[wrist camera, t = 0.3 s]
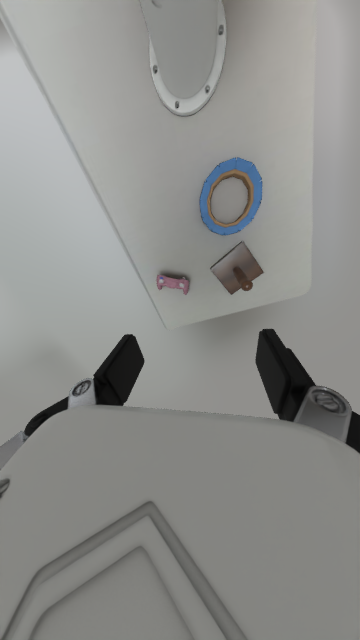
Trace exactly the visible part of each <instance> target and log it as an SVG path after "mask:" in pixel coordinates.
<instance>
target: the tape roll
mask: <svg viewBox="0 0 360 640" xmlns="http://www.w3.org/2000/svg"><path fill="white" fill-rule="evenodd" d="M251 165H252V162H249V161H246V160H244V159H241V158H237V160H236V158H233V159H230V160H228V161H225V162H222V163H220V164H219V166H218V165H217V166H216V168H215V169H214V170H213V171H212V173H211V174H210V175H209V176H208V177H207V179H206V182H204V186H203V189H202V193H201V196H200V209H201V217H202V218H203V219H202V220H203V221H204V223H205V224H206V225H207V227H208V228H209V229H210V230H211V229H212V230H211V231H212V232H215V233H218V234H220V235H229V234H233V233H237V232H238V231H241V230H242V229H243V228H244V227H245V226H246V225H247V224H249V223H250V222H251V221H252V220H251V219H253V218H254V216H255V214H256V212H257V210H258V208H259V205H260V203H261V202H260V201H261V200H262V181H261V180H262V178H261V176H260V175H259V173H258V171H257V169H256V167H255V165H254V164H253V165H252V166H251ZM232 176H233V177H235V178H238V179H241V180H242V181H243V182H244V184H245V186H246V187H247V189H248V204H247V206H246V208H245V210H244V213H243V215H241V216H240V217H239V218H238V219H237V220H236V221H235V222H233V223H229V224H223V223H220V222H217V221H216V219H215V218H214V217H213V215H212V214H211V209H210V199H211V195H212V192H213V190H214V188H215V187H216V186H217V185H218V184H219V183H220V182H221V181H222V180H224V179H227V178H230V177H232ZM260 181H261V182H260Z"/></svg>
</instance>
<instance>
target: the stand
mask: <svg viewBox="0 0 360 640" xmlns="http://www.w3.org/2000/svg"><path fill="white" fill-rule="evenodd" d="M211 270H212V272H213V273H214V274H215V275H216V277H217V278H218V279H219V280H220V282H221V283H222V284H223V285H224V287H225V288H226V289H227V290H228V292H229V293H230V294H231V295H232V294H233V293H235V292H236V291H238V290H239V289H240V288H242V289H243V290H244V291H249V290H250V289H251V288H252V287H253V283H252V282H251V281H252V280H254V279H255V278H256V277H258V276H259V275H261V274H262V273H264V272H263V271H262V269H261V268H260V266H259V265H258V263H257V262H256V260H255V259H254V257H253V256H252V254H251V253H250V251H249V250H248V248H247V247H246V245H245V244H244V242H241V243H239V244H238V245H237V246H236V247H235V248H233V249H232V250H231V251H230V252H229V253H228V254H226V255H225V256H224V257H223V258H222V259H220V260H219V261H218V262H217V263H216V264H215V265H213V266H212V267H211Z"/></svg>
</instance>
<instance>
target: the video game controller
mask: <svg viewBox="0 0 360 640" xmlns="http://www.w3.org/2000/svg"><path fill="white" fill-rule="evenodd" d="M182 278H183V279H173V278H170V277H167V276H164V275H157V286H158V289H159V290H161V289H162V286H167V287H169V288H178V289H183V292H184V294H185V295H186V294H187V293H188V289H189V281H188V280H185V279H186V278H185V277H182Z"/></svg>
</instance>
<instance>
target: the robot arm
mask: <svg viewBox="0 0 360 640" xmlns="http://www.w3.org/2000/svg"><path fill="white" fill-rule="evenodd" d="M139 2H140V5H141V8H142V12H143V15H144V19H145V22H146V25H147V29H148V32H149V35H150V38H149V60H150V69H151V74H152V78H153V82H154V85H155V88H156V90H157V93H158V95H159V97H160V99H161V101H162V102H163V104H164V105H165V106H166V107H167V108H168V109H169V110H170V111H171V112H173V113H174V114H176V115H180V116H189V115H192V114H194V113H196V112H197V111H199V110H200V109H201V108H202V107H203V106H204V105H205V104H206V103H207V102H208V100H209V99H210V98H211V96H212V94H213V92H214V90H215V88H216V86H217V84H218V81H219V78H220V76H221V72H222V68H223V64H224V57H225V49H226V18H225V11H224V7H223V3H222V0H139ZM220 34H222V35H220ZM156 72H157V73H156ZM155 73H156V74H155ZM207 91H208V92H209V93H208V94H206V92H207ZM178 106H179V108H178V109H177V107H178ZM143 365H144V358H143V355H142V353H141V350H140V348H139V345H138V343H137V340H136V337H135V336H133V335H132V334H130V335H129V334H127V335H124V336H123V337H122V339H121V340H120V341H119V343H118V344H117V345H116V347H115V348H114V349H113V350H112V352H111V353H110V355H109V356H108V357H107V358H106V360H105V361H104V362H103V363H102V365H101V366H100V367H99V369H98V370H97V371H96V373H95V374H94V379H91V378H86V379H83V380H81V381H79V382H78V383H77V384H76V385H74V386H73V387H72V389H71V390H70V393H69V396H68V397H66V398H65V399H63V400H61V401H60V402H57V403H56V404H54V405H52V406H50V407H49V408H47V409H45V410H43V411H42V412H40V413H39V414H37V415H36V416H35V417H34V418H32V419H31V421H30V422H29V423H28V424H27V426H26V428H25V431H24V432H23V431H20V432H19V433H18V434H16V435H15V436H14V437H12V438H11V439H10V440H8V441H7V442H6V443H5V444H3V445H2V446H0V640H360V415H358V414H357V413H355V412H353V411H352V409H351V406H350V404H349V402H348V401H347V400H346V399H345V398H344V397H343V396H342V395H340V394H339V393H338V392H336V391H334V390H332V389H329V388H327V387H323V386H316V385H315V383H314V382H313V380H312V379H311V377H309V375H308V373H307V372H306V370H305V369H304V368H303V366H302V365H301V363H300V362H299V360H298V359H297V358H296V356H295V355H294V353H293V352H292V350H291V349H289V348H286V347H285V346H284V344H283V343H282V341H281V340H280V338H279V337H278V335H277V334H276V332H275V331H274V329H263V330H262V331H260V332H259V339H258V346H257V353H256V365H257V368H258V371H259V373H260V376H261V379H262V382H263V384H264V387H265V390H266V393H267V395H268V398H269V400H270V403H271V406H272V409H273V411H274V413H275V414H278V416H279V419H280V420H278V419H271V418H262V417H252V416H242V415H231V414H219V413H206V412H193V411H180V410H168V409H155V408H141V407H126V406H123V404H124V403H125V402H126V401H127V399H128V397H129V395H130V393H131V390H132V388H133V386H134V384H135V382H136V380H137V377H138V375H139V373H140V371H141V369H142V367H143ZM285 420H286V421H285Z"/></svg>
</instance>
